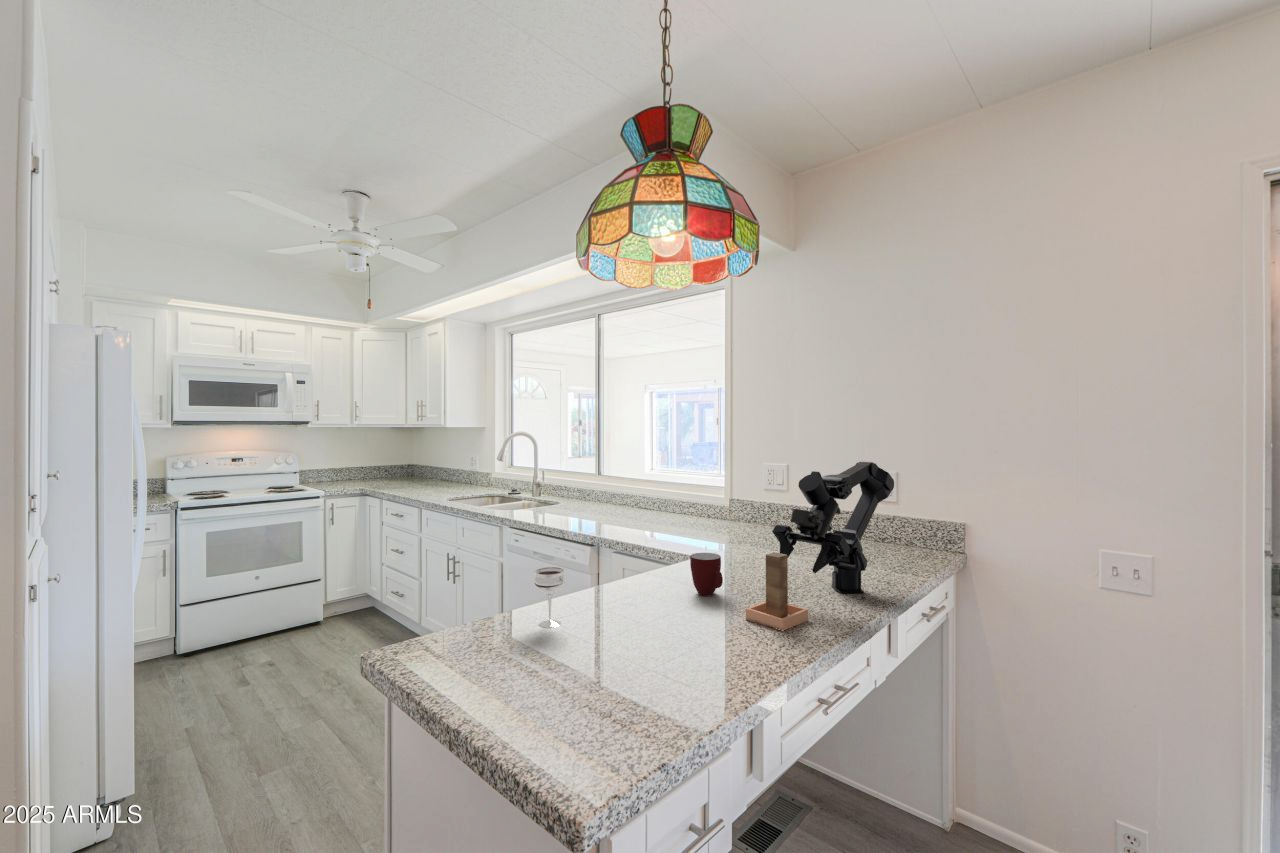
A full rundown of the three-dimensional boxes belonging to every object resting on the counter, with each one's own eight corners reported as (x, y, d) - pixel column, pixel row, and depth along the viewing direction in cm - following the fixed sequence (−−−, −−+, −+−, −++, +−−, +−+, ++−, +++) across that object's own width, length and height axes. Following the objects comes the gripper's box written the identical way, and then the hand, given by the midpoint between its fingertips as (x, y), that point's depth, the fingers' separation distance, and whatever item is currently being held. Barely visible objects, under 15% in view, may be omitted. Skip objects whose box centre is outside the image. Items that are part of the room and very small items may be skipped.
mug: (734, 596, 143) (734, 558, 142) (712, 602, 138) (712, 563, 138) (705, 587, 151) (705, 551, 151) (684, 592, 146) (684, 555, 146)
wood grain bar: (773, 612, 129) (773, 551, 129) (792, 617, 125) (792, 554, 125) (761, 617, 126) (761, 554, 125) (780, 623, 122) (779, 558, 122)
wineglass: (566, 627, 121) (566, 573, 121) (535, 630, 120) (535, 576, 120) (563, 617, 128) (562, 566, 128) (533, 619, 126) (533, 568, 126)
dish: (771, 609, 132) (771, 599, 132) (808, 620, 125) (808, 609, 125) (745, 619, 126) (745, 608, 126) (783, 631, 118) (783, 620, 118)
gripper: (776, 493, 142) (750, 542, 134) (843, 500, 128) (818, 555, 120) (793, 519, 147) (769, 568, 140) (860, 529, 133) (837, 583, 126)
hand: (796, 568), depth 131 cm, fingers open, 9 cm apart
